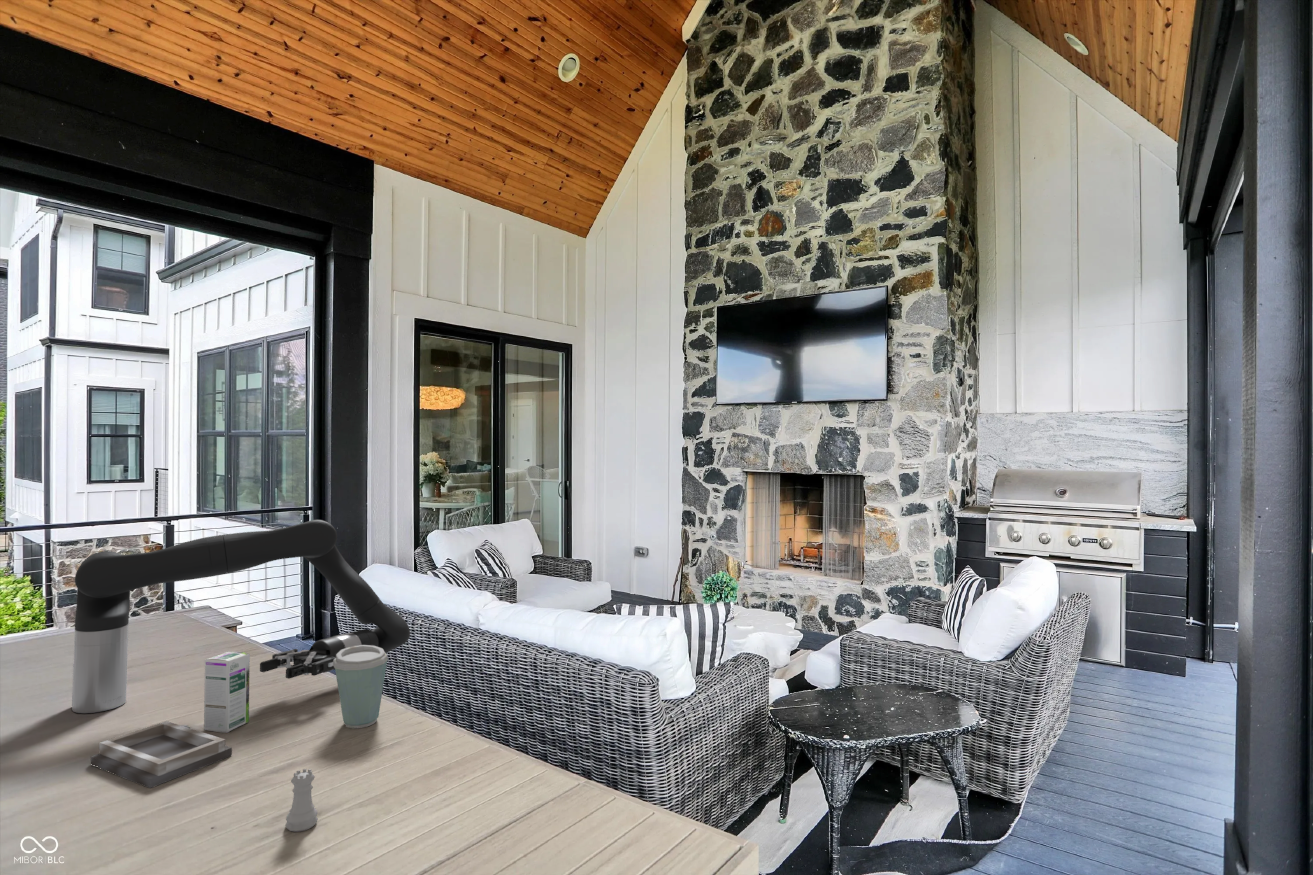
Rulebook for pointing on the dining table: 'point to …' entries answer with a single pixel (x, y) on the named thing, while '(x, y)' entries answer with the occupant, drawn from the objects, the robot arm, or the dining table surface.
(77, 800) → the dining table surface
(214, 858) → the dining table surface
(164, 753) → the shallow rectangular tray
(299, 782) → the rook chess piece
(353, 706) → the disposable coffee cup
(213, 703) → the syrup box
